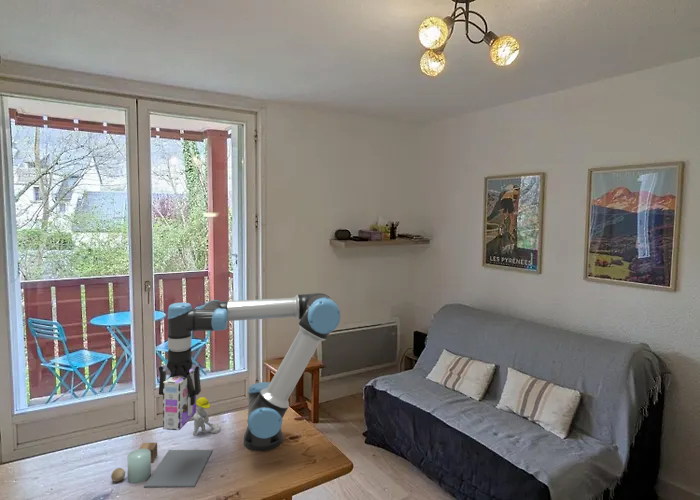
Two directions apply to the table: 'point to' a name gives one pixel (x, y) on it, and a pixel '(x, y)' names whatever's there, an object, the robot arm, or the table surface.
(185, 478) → the felt mat
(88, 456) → the table surface
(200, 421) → the figurine
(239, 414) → the table surface
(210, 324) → the robot arm
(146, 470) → the pale green rounded cylinder
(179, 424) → the candy box
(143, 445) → the walnut block
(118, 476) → the cork ball
